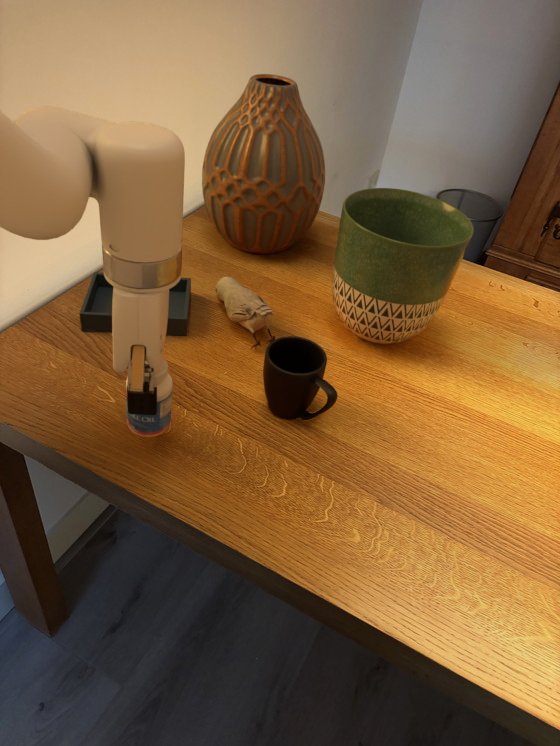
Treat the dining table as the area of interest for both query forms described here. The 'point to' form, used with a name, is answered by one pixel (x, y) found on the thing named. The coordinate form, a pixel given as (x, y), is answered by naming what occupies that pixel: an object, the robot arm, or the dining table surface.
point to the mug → (295, 378)
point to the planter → (395, 261)
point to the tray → (101, 296)
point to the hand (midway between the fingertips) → (145, 393)
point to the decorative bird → (244, 306)
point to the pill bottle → (162, 419)
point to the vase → (264, 168)
